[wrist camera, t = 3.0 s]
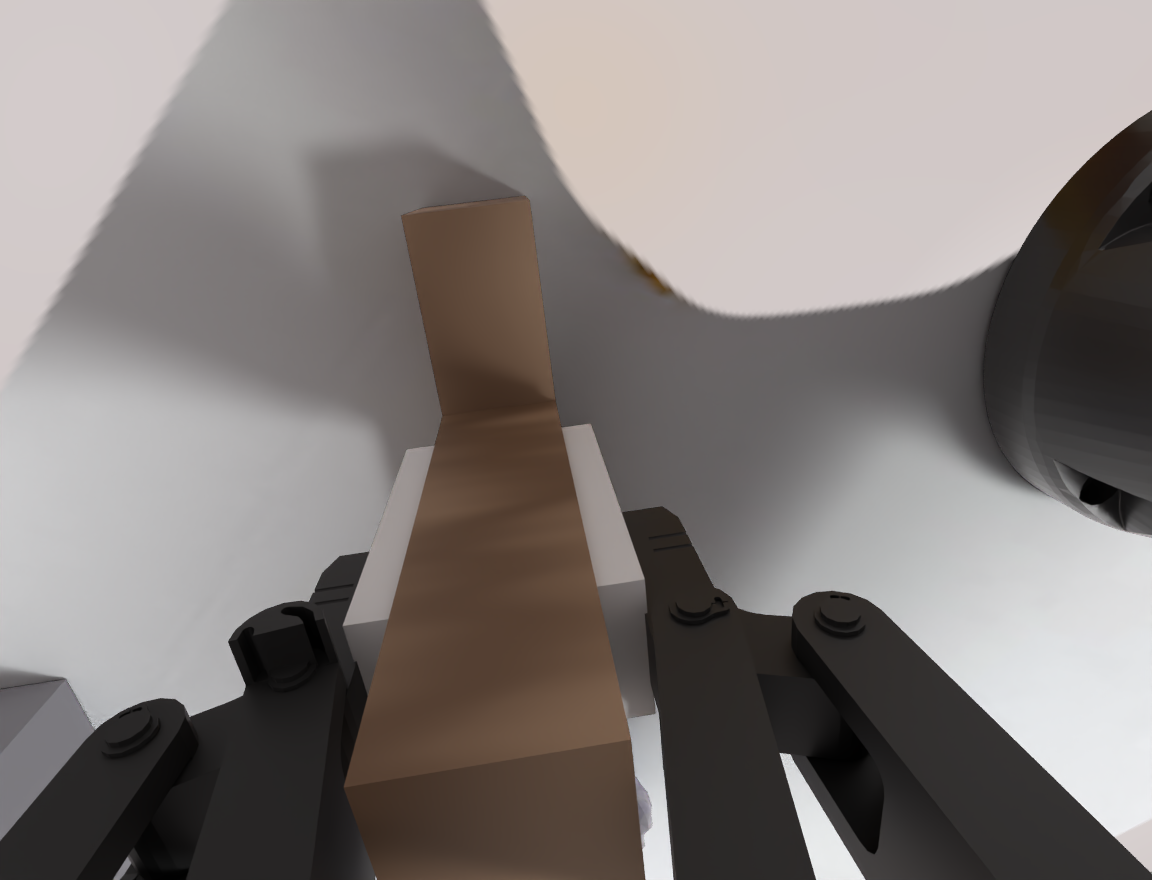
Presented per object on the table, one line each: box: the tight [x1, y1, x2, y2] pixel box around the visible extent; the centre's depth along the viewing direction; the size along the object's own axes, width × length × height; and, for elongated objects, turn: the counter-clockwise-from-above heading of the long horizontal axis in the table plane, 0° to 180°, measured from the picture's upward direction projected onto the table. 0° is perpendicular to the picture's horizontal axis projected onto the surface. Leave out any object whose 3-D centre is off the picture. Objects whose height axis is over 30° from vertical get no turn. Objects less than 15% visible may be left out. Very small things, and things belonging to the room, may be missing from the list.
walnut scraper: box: [344, 196, 645, 880], centre depth 14 cm, size 3×13×15 cm, turn 6°
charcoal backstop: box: [0, 679, 131, 880], centre depth 23 cm, size 3×14×5 cm, turn 6°
